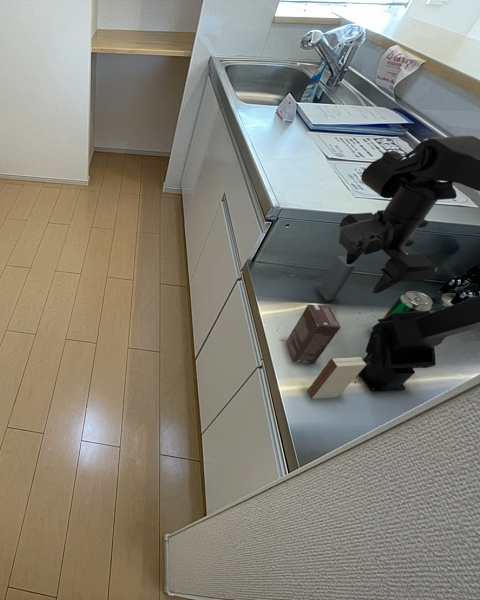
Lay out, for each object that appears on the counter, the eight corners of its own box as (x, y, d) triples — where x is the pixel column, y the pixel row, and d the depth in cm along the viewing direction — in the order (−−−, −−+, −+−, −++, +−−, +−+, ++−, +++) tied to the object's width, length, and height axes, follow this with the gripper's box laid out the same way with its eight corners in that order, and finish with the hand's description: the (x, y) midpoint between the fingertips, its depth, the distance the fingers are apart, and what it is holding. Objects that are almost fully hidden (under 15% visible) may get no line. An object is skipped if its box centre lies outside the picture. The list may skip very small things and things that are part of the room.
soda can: (374, 343, 76) (407, 305, 67) (369, 326, 79) (399, 288, 71) (402, 348, 74) (439, 309, 66) (395, 330, 78) (429, 292, 69)
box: (315, 364, 73) (342, 327, 64) (292, 363, 73) (316, 326, 65) (306, 342, 77) (330, 304, 69) (284, 341, 78) (305, 303, 69)
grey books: (334, 300, 85) (356, 266, 78) (325, 301, 85) (346, 266, 78) (325, 289, 88) (345, 255, 80) (317, 290, 88) (337, 256, 81)
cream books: (337, 397, 67) (366, 364, 60) (311, 398, 67) (336, 366, 60) (332, 389, 68) (360, 356, 61) (306, 391, 69) (331, 358, 61)
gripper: (331, 189, 68) (301, 253, 79) (394, 244, 55) (348, 312, 66) (388, 185, 68) (350, 250, 79) (467, 240, 54) (407, 308, 65)
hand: (361, 277), depth 72 cm, fingers open, 9 cm apart
